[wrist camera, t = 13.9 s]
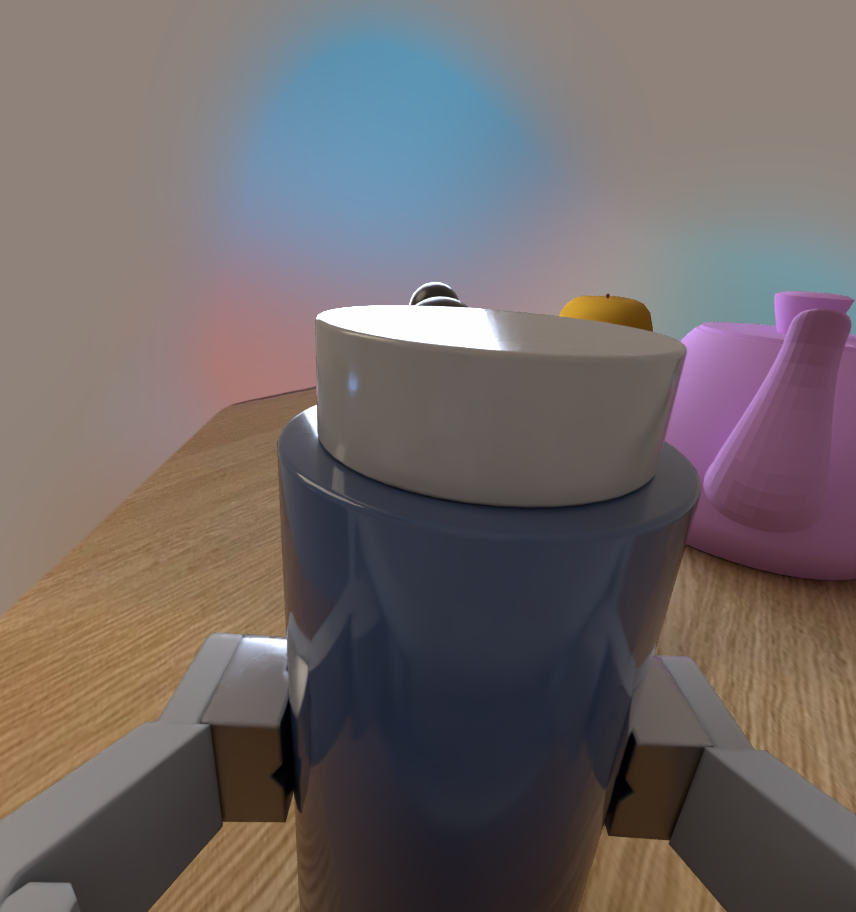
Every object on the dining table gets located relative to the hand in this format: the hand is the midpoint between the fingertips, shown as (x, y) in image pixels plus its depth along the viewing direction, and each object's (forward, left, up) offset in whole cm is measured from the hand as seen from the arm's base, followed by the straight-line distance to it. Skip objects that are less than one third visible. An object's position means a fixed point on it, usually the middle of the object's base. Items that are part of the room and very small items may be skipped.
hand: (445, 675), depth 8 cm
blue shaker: (+1, -1, -7) cm, 7 cm away
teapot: (+1, +29, -8) cm, 30 cm away
